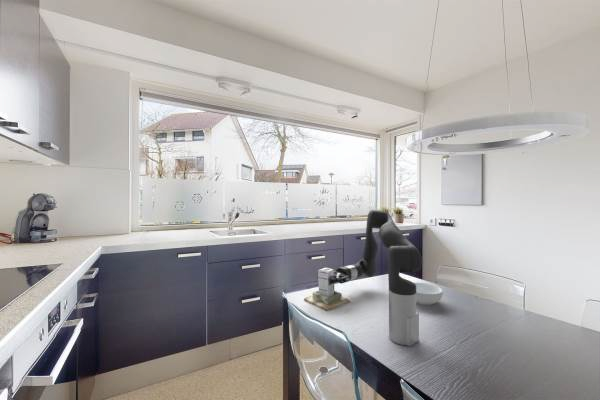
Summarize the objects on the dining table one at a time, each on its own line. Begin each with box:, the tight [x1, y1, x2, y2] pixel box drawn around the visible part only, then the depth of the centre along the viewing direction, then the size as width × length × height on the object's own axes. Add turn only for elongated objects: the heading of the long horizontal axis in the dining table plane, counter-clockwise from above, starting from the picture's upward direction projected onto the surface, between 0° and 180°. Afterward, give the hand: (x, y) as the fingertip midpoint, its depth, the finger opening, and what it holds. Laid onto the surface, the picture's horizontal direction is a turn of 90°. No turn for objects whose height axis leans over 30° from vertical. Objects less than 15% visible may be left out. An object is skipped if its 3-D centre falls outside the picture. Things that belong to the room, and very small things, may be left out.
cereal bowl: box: [413, 282, 443, 306], centre depth 128 cm, size 17×17×7 cm
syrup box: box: [317, 267, 335, 297], centre depth 131 cm, size 6×6×14 cm
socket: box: [303, 290, 351, 311], centre depth 130 cm, size 16×16×4 cm
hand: (324, 279), depth 129 cm, fingers open, 8 cm apart
